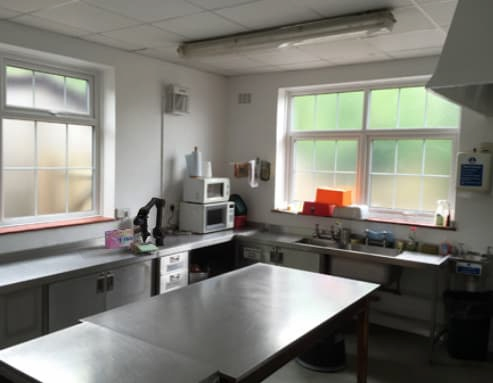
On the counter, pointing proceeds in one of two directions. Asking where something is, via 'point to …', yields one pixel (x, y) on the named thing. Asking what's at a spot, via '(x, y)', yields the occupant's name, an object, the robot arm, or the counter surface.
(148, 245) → the lid
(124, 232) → the gum box
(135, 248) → the box
